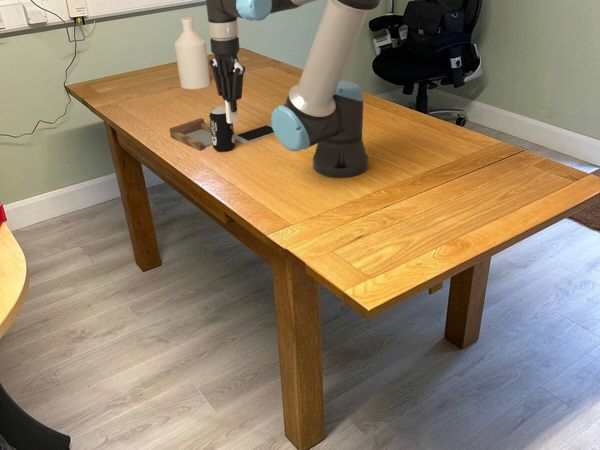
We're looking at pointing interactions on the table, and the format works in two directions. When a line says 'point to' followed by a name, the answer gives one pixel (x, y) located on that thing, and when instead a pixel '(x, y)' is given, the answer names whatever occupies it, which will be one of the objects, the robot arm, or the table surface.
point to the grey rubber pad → (202, 137)
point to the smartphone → (254, 134)
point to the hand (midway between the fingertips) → (232, 121)
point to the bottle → (191, 57)
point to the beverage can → (221, 130)
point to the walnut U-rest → (190, 127)
